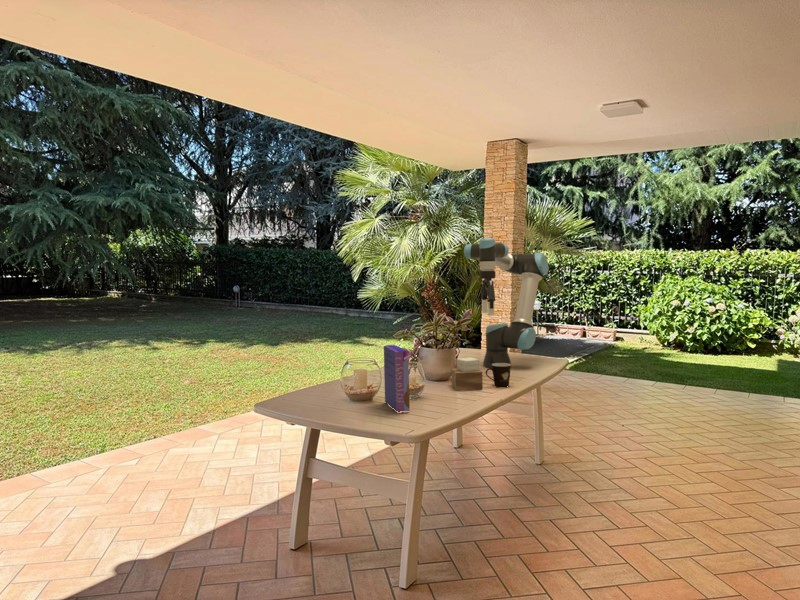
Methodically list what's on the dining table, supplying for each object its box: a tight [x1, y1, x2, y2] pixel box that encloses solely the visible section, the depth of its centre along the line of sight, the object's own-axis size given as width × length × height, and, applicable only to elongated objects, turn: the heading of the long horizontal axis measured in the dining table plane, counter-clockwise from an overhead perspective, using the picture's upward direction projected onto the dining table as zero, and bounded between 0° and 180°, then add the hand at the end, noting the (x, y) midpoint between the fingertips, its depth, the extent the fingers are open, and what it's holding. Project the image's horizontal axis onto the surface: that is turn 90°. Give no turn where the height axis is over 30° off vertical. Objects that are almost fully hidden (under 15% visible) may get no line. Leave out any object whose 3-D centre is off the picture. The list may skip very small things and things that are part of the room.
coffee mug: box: [485, 363, 512, 388], centre depth 256 cm, size 12×9×10 cm
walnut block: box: [451, 367, 484, 392], centre depth 255 cm, size 12×12×8 cm
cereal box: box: [383, 344, 411, 412], centre depth 221 cm, size 17×5×24 cm, turn 18°
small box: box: [456, 356, 480, 372], centre depth 254 cm, size 8×8×5 cm
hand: (488, 314), depth 271 cm, fingers open, 13 cm apart
